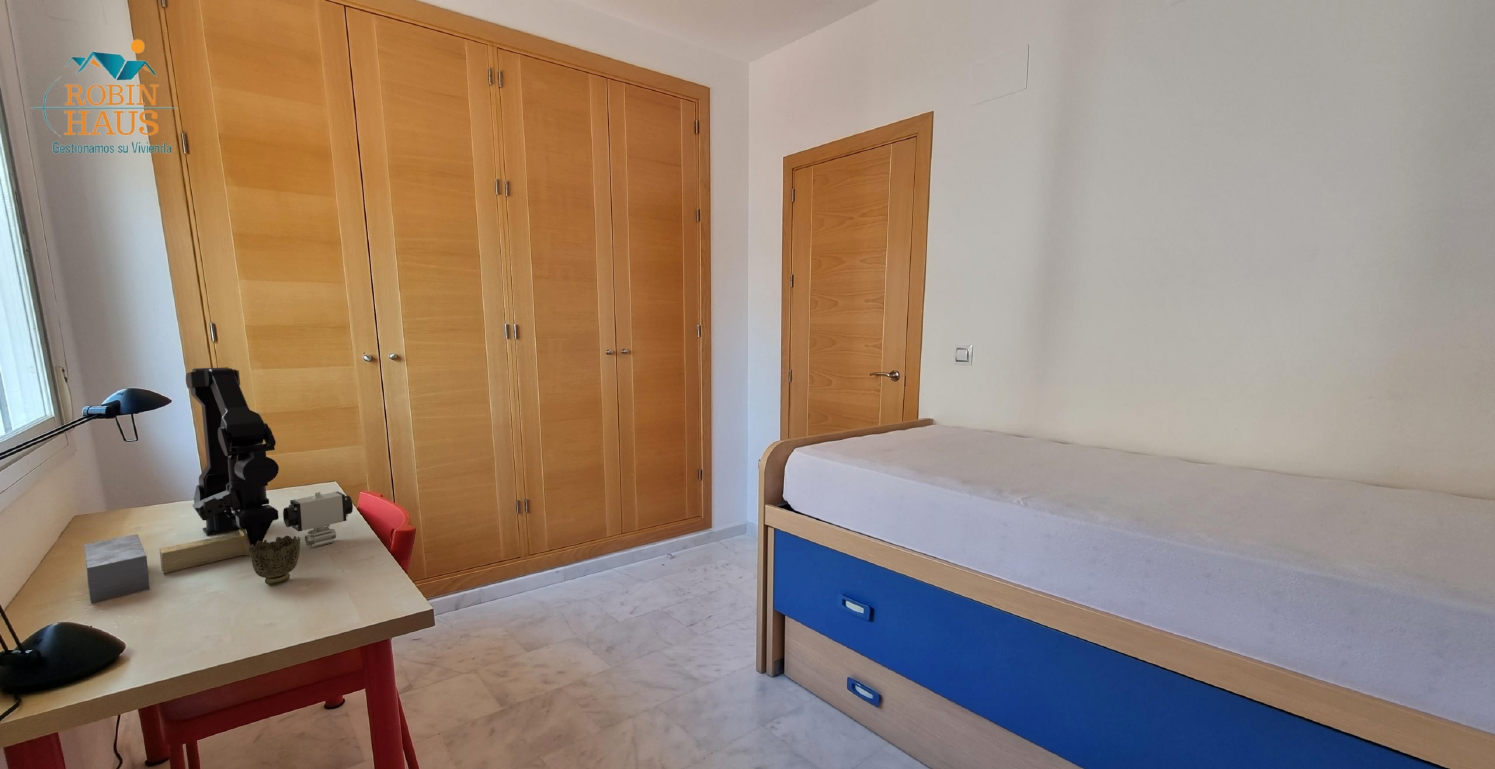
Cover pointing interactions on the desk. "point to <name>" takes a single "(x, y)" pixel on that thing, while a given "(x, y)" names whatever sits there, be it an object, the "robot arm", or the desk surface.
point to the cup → (275, 559)
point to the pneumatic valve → (318, 516)
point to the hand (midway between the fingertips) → (252, 547)
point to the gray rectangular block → (116, 568)
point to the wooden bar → (204, 551)
